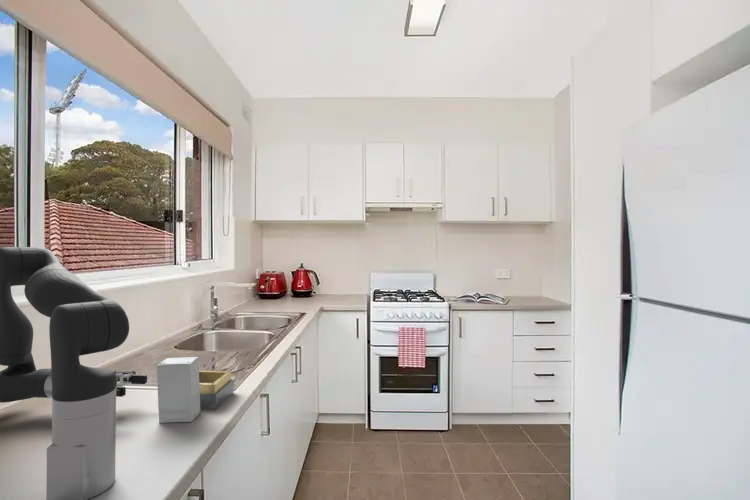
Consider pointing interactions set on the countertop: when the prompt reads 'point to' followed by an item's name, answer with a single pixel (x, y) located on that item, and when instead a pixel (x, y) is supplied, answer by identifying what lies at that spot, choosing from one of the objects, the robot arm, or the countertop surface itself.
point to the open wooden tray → (214, 388)
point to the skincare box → (178, 389)
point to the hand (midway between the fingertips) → (136, 385)
